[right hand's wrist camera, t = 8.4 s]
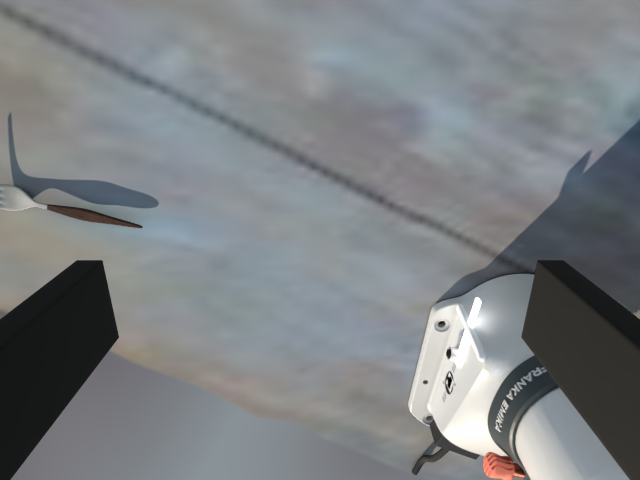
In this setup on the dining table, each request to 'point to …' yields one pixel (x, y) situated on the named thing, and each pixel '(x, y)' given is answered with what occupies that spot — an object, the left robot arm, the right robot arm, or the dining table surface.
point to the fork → (53, 207)
